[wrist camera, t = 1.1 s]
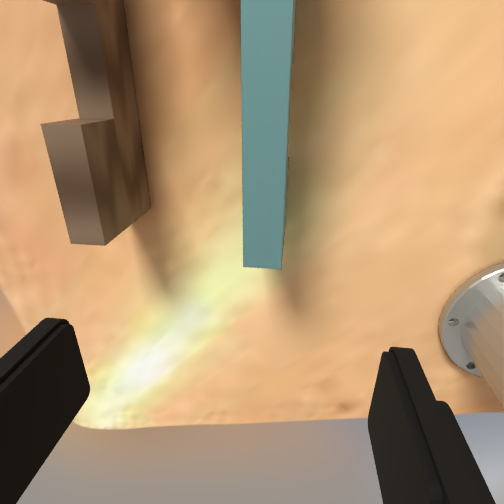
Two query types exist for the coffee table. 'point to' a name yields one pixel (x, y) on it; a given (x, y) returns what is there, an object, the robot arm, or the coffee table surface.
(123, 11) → the brown flat notched block
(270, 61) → the teal plate
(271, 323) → the coffee table surface
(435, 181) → the coffee table surface
